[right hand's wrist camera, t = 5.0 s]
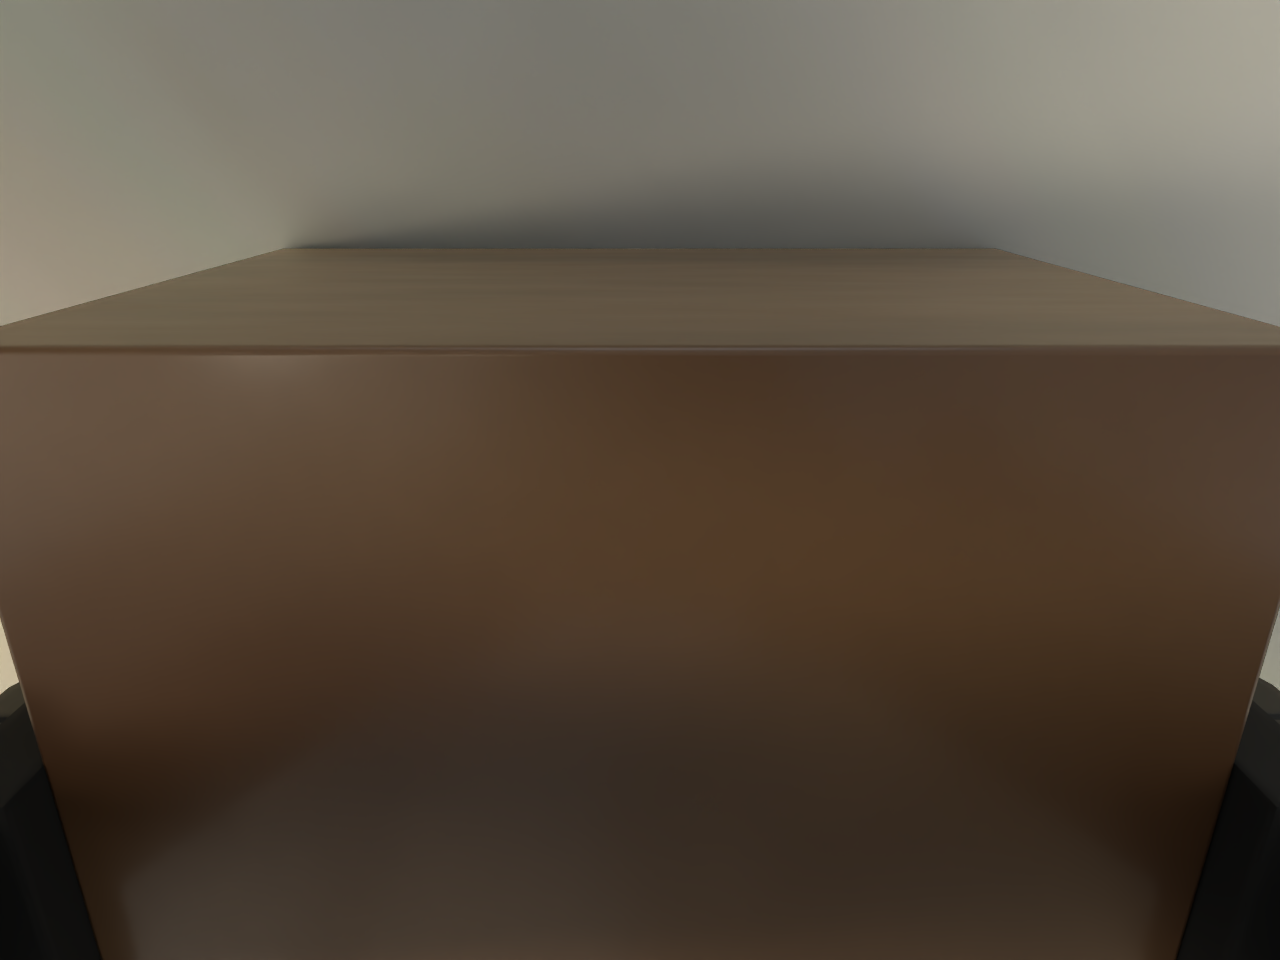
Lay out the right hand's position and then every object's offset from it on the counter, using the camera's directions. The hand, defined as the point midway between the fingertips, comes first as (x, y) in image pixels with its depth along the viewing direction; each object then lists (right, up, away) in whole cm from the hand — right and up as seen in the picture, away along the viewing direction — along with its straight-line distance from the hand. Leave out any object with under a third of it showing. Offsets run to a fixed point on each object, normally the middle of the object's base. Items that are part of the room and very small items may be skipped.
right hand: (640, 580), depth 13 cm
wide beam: (0, -30, +12) cm, 33 cm away
